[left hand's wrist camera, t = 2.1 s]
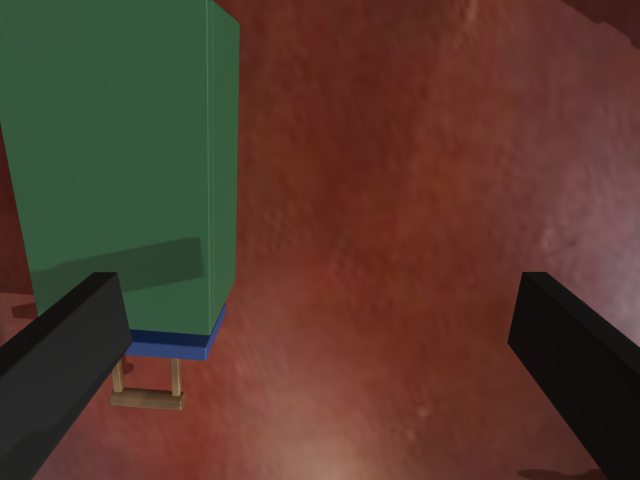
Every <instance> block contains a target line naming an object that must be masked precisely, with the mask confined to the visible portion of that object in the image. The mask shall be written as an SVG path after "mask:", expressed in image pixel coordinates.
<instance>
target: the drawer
mask: <svg viewBox="0 0 640 480" xmlns="http://www.w3.org/2000/svg"><path fill="white" fill-rule="evenodd" d="M225 314H226V304H225V303H224V305H223V308H222V310H221V312H220V314H219V317H218V319H217V321H216V323H215V326H214V328H213V330H212V332H211V334H210V335H200V334H187V333H174V332H162V331H149V330H136V329H130V333H131V338H132V342H133V343H132V344H131V346H130V347H129V348H128V350H127V351H126V353H125V354H124V355H137V356H150V357H163V358H170V364H171V382H172V391H166V390H152V389H138V388H124V379H123V370H122V361H121V359H120V361H119V362H118V363H117V365H116V366H115V367H114V369H113V370H112V379H113V387H114V389H113V391H112V393H111V396H110V404H111V405H112V406H125V407H139V408H154V409H168V410H182V409H183V407H184V405H185V401H186V393H185V392H182V388H181V365H180V359H190V360H203V361H205V360H206V359H207V357H208V355H209V352H210V350H211V347H212V345H213V343H214V340H215V338H216V335H217V333H218V331H219V328H220V326H221V324H222V321H223V319H224V316H225Z"/></svg>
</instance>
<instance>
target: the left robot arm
mask: <svg viewBox="0 0 640 480" xmlns="http://www.w3.org/2000/svg"><path fill="white" fill-rule="evenodd" d="M132 343H133V342H132V338H131V333H130V328H129V324H128V319H127V314H126V310H125V305H124V300H123V296H122V291H121V286H120V282H119V277H118V272H93V273H92V274H91V275H89V276H88V277H87V278H86V279H85V280H83V281H82V282H81V283H80V284H78V285H77V286H76V287H75V288H73V289H72V290H71V291H70V292H68V293H67V294H66V295H65V296H63V297H62V298H61V299H60V300H59V301H57V302H56V303H55V304H54V305H52V306H51V307H50V308H49V309H47V310H46V311H45V312H44V313H42V314H41V315H40V316H39V317H37V318H36V319H35V320H34V321H32V322H31V323H30V324H29V325H28V326H26V327H25V328H24V329H23V330H21V331H20V332H19V333H18V334H16V335H15V336H14V337H13V338H11V339H10V340H9V341H8V342H6V343H5V344H4V345H3V346H1V347H0V480H32V478H33V477H34V476H35V474H36V473H37V472H38V470H39V469H40V467H41V466H42V465H43V463H44V462H45V461H46V459H47V458H48V457H49V455H50V454H51V453H52V451H53V450H54V449H55V447H56V446H57V444H58V443H59V442H60V440H61V439H62V438H63V436H64V435H65V434H66V432H67V431H68V430H69V428H70V427H71V426H72V424H73V423H74V422H75V420H76V419H77V417H78V416H79V415H80V413H81V412H82V411H83V409H84V408H85V407H86V405H87V404H88V403H89V401H90V400H91V399H92V397H93V396H94V394H95V393H96V392H97V390H98V389H99V388H100V386H101V385H102V384H103V382H104V381H105V380H106V378H107V377H108V376H109V374H110V373H111V371H112V370H113V369H114V367H115V366H116V365H117V363H118V362H119V361H120V359H121V358H122V357H123V355H124V354H125V353H126V351H127V350H128V348H129V347H130V346H131V344H132ZM507 343H508V344H509V346H510V347H511V348H512V350H513V351H514V353H515V354H516V355H517V357H518V358H519V359H520V361H521V362H522V363H523V365H524V366H525V367H526V369H527V370H528V371H529V373H530V374H531V376H532V377H533V378H534V380H535V381H536V382H537V384H538V385H539V386H540V388H541V389H542V390H543V392H544V393H545V394H546V396H547V397H548V399H549V400H550V401H551V403H552V404H553V405H554V407H555V408H556V409H557V411H558V412H559V413H560V415H561V416H562V417H563V419H564V420H565V422H566V423H567V424H568V426H569V427H570V428H571V430H572V431H573V432H574V434H575V435H576V436H577V438H578V439H579V440H580V442H581V443H582V444H583V446H584V447H585V449H586V450H587V451H588V453H589V454H590V455H591V457H592V458H593V459H594V461H595V462H596V463H597V465H598V466H599V467H600V469H601V470H602V472H603V473H604V474H605V476H606V477H607V478H608V480H640V347H639V346H637V345H636V344H635V343H634V342H632V341H631V340H630V339H629V338H627V337H626V336H625V335H624V334H622V333H621V332H620V331H619V330H617V329H616V328H615V327H614V326H612V325H611V324H610V323H609V322H608V321H606V320H605V319H604V318H603V317H601V316H600V315H599V314H598V313H596V312H595V311H594V310H593V309H591V308H590V307H589V306H588V305H586V304H585V303H584V302H583V301H581V300H580V299H579V298H578V297H577V296H575V295H574V294H573V293H572V292H570V291H569V290H568V289H567V288H565V287H564V286H563V285H562V284H560V283H559V282H558V281H557V280H555V279H554V278H553V277H552V276H551V275H549V274H548V273H547V272H522V277H521V282H520V286H519V291H518V296H517V300H516V305H515V310H514V314H513V319H512V324H511V328H510V333H509V338H508V342H507Z"/></svg>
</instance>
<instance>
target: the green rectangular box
mask: <svg viewBox="0 0 640 480" xmlns="http://www.w3.org/2000/svg"><path fill="white" fill-rule="evenodd" d="M239 36H240V24H239V23H238V22H237V21H236V20H235V19H234V18H233V17H231V16H230V15H229V14H228V13H227V12H226V11H225V10H223V9H222V8H221V7H220V6H219V5H218V4H216V3H215V2H214V1H213V0H0V125H1V130H2V135H3V140H4V145H5V150H6V155H7V160H8V165H9V171H10V176H11V181H12V186H13V191H14V196H15V201H16V206H17V211H18V216H19V221H20V227H21V232H22V237H23V242H24V247H25V252H26V257H27V262H28V267H29V272H30V277H31V283H32V288H33V293H34V298H35V303H36V308H37V313H38V317H39V316H40V315H41V314H42V313H44V312H45V311H46V310H47V309H49V308H50V307H51V306H52V305H54V304H55V303H56V302H57V301H59V300H60V299H61V298H62V297H63V296H65V295H66V294H67V293H68V292H70V291H71V290H72V289H73V288H75V287H76V286H77V285H78V284H80V283H81V282H82V281H83V280H85V279H86V278H87V277H88V276H89V275H91V274H92V273H93V272H118V277H119V282H120V286H121V291H122V296H123V300H124V305H125V310H126V314H127V319H128V324H129V328H130V329H136V330H149V331H162V332H174V333H187V334H200V335H210V334H211V332H212V330H213V328H214V326H215V323H216V321H217V319H218V317H219V314H220V312H221V310H222V308H223V305H224V303H225V301H226V299H227V296H228V294H229V292H230V290H231V288H232V285H233V283H234V281H235V264H236V207H237V150H238V93H239Z"/></svg>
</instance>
